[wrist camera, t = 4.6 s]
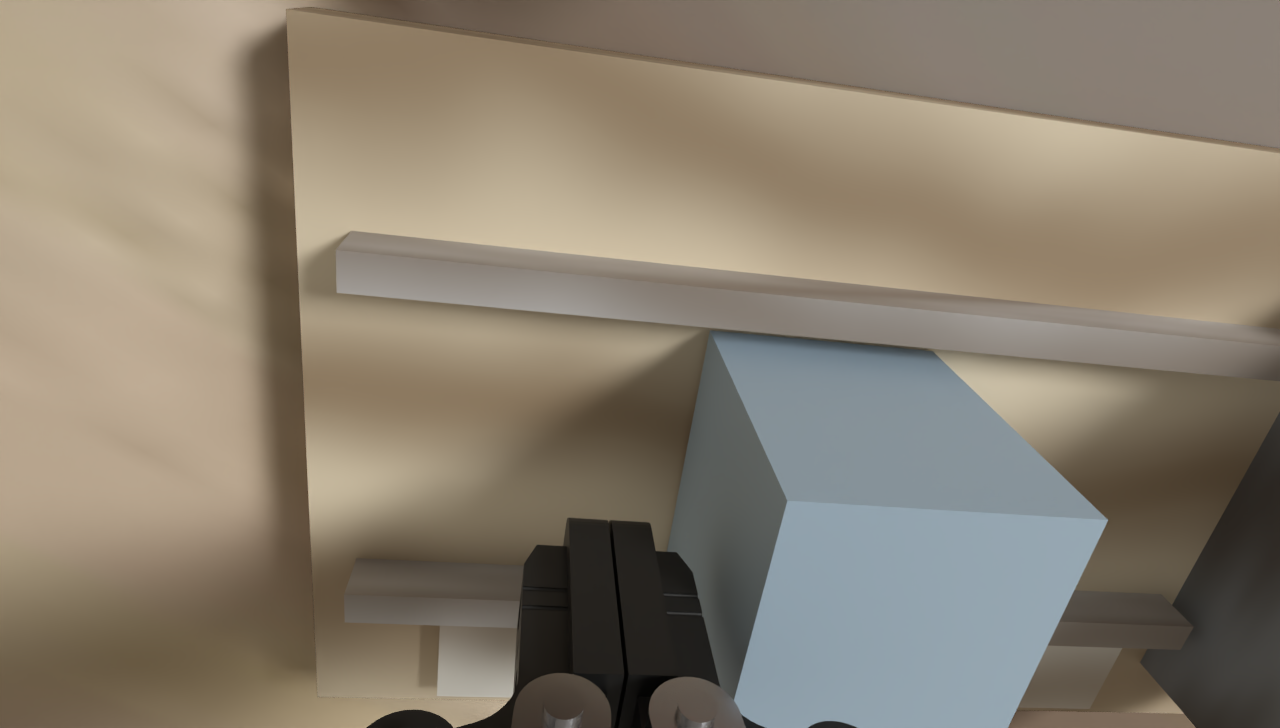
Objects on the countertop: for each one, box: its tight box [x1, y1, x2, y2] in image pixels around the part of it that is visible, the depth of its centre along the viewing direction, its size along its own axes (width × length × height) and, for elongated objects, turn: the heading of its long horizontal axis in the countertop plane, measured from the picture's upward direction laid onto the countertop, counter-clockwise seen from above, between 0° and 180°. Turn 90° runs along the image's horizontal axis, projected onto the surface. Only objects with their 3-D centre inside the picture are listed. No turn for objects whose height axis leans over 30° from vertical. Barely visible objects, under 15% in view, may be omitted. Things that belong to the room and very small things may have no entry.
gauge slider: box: [667, 330, 1108, 728], centre depth 16 cm, size 10×6×6 cm, turn 172°
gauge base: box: [286, 7, 1280, 728], centre depth 15 cm, size 16×26×10 cm, turn 82°
